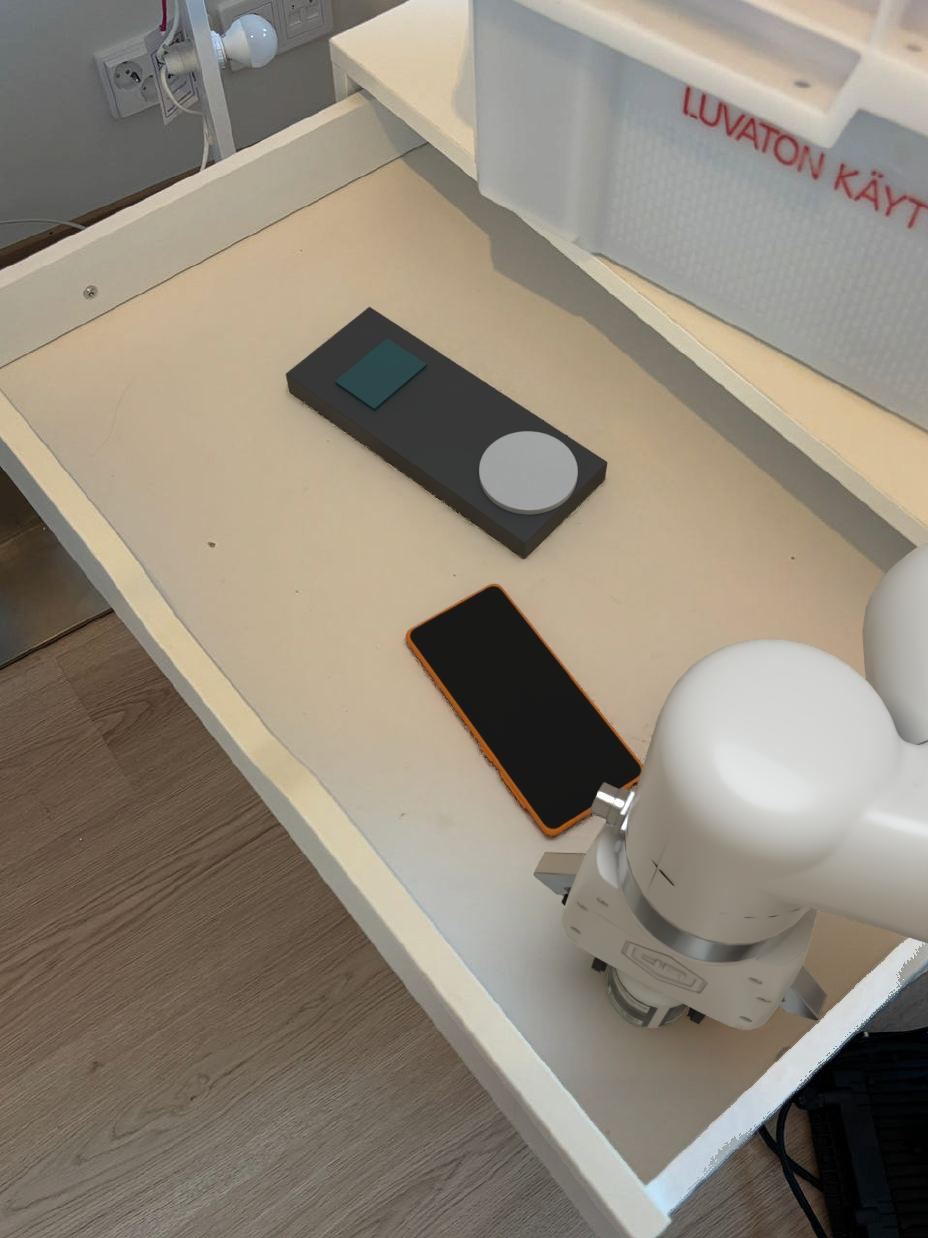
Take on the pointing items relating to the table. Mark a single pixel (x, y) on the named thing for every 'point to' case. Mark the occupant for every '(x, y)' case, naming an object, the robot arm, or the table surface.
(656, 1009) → the pill bottle
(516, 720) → the smartphone
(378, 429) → the scale
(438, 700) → the table surface
